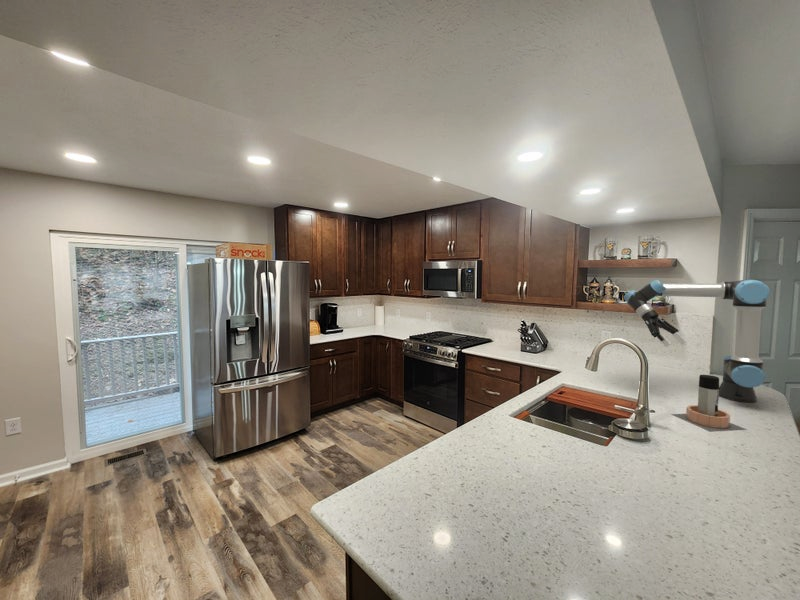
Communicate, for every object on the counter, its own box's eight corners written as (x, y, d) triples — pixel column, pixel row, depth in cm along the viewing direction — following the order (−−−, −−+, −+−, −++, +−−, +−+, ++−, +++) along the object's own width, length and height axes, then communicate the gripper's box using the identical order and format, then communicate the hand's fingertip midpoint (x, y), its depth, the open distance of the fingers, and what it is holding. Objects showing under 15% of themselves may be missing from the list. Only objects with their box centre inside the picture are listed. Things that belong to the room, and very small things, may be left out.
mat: (704, 413, 159) (704, 412, 159) (747, 430, 141) (747, 429, 141) (670, 415, 157) (670, 414, 157) (709, 433, 140) (709, 431, 140)
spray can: (718, 424, 145) (721, 379, 144) (697, 420, 149) (700, 376, 148) (715, 419, 150) (718, 376, 149) (696, 415, 154) (698, 373, 153)
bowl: (705, 414, 157) (705, 404, 157) (738, 427, 143) (738, 416, 143) (678, 415, 156) (679, 405, 155) (709, 429, 142) (709, 418, 141)
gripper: (655, 316, 196) (684, 346, 183) (628, 318, 186) (656, 350, 174) (666, 308, 191) (696, 338, 178) (638, 310, 181) (667, 342, 168)
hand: (676, 344), depth 176 cm, fingers open, 13 cm apart
